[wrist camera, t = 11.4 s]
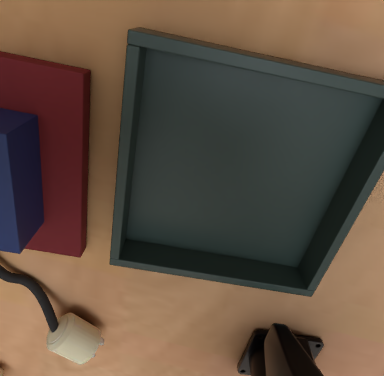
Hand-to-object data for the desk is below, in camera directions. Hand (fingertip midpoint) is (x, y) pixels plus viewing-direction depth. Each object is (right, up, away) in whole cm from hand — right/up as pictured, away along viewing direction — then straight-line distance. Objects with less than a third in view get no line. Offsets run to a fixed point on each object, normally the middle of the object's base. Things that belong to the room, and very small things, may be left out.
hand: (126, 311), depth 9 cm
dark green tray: (+5, +5, +10) cm, 12 cm away
